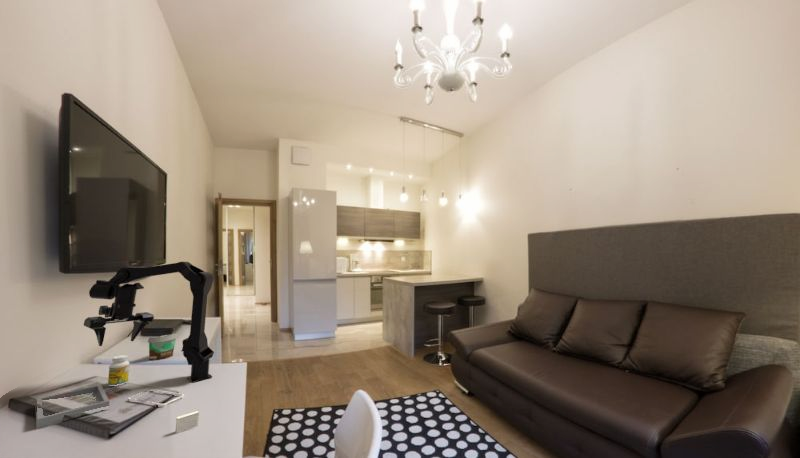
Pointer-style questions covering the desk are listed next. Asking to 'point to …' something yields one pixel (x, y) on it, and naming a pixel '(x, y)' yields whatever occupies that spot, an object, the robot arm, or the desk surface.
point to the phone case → (169, 401)
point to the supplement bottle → (119, 370)
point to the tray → (57, 417)
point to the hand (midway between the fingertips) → (116, 343)
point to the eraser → (187, 421)
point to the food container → (161, 346)
